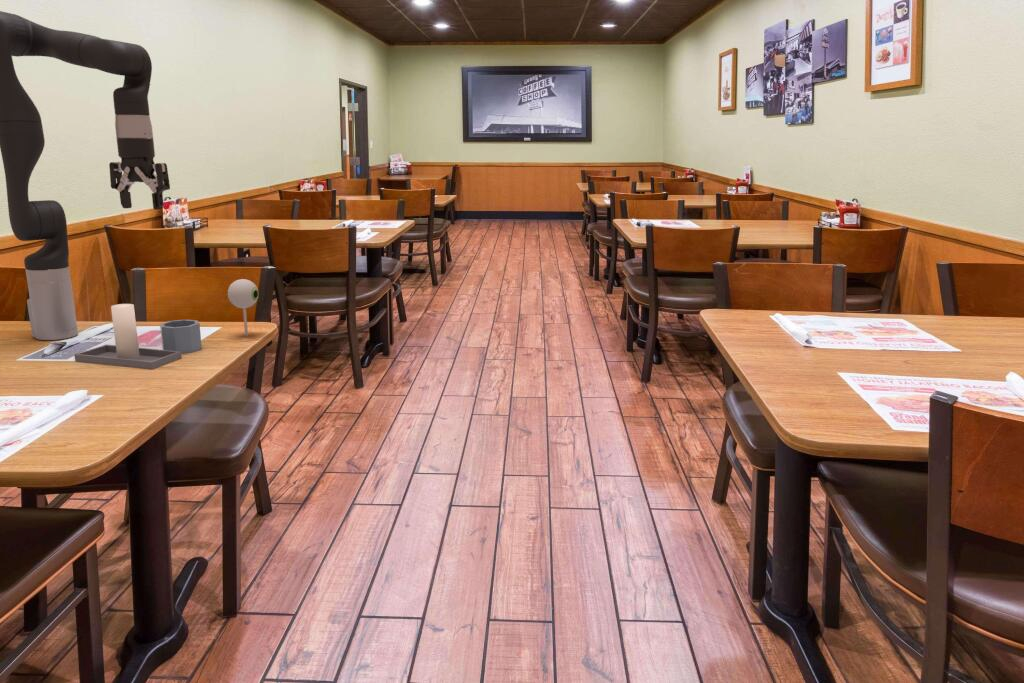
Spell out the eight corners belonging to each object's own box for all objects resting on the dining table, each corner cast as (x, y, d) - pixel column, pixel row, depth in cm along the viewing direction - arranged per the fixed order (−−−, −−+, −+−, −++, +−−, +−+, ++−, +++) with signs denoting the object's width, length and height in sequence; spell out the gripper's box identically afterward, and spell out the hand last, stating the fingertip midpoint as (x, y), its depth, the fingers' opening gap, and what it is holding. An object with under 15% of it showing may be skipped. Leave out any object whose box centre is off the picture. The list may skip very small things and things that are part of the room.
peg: (112, 361, 167) (106, 307, 164) (127, 356, 171) (121, 303, 168) (129, 363, 166) (123, 308, 163) (144, 357, 170) (138, 304, 167)
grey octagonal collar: (155, 356, 175) (152, 326, 174) (179, 347, 183) (176, 318, 181) (185, 359, 173) (182, 328, 171) (208, 350, 181) (206, 321, 179)
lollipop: (252, 343, 187) (247, 282, 183) (225, 341, 189) (220, 281, 185) (267, 336, 194) (262, 277, 190) (241, 334, 195) (236, 276, 192)
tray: (75, 365, 167) (74, 354, 167) (107, 355, 176) (106, 344, 175) (153, 373, 162) (151, 362, 162) (182, 362, 171) (180, 351, 170)
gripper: (96, 135, 173) (104, 209, 177) (149, 136, 169) (157, 211, 173) (121, 136, 180) (129, 206, 184) (172, 136, 176) (179, 208, 180)
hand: (142, 208), depth 179 cm, fingers open, 8 cm apart
